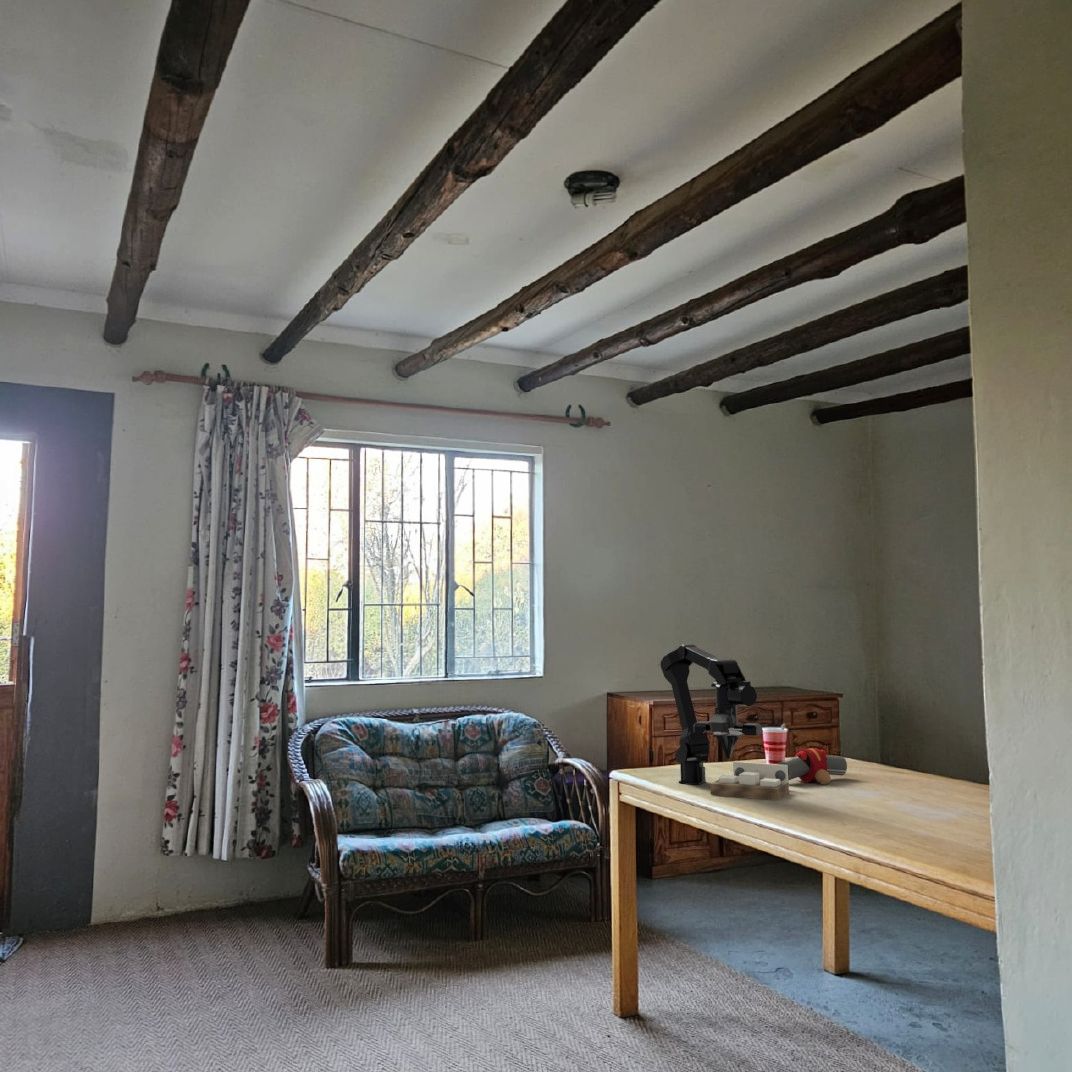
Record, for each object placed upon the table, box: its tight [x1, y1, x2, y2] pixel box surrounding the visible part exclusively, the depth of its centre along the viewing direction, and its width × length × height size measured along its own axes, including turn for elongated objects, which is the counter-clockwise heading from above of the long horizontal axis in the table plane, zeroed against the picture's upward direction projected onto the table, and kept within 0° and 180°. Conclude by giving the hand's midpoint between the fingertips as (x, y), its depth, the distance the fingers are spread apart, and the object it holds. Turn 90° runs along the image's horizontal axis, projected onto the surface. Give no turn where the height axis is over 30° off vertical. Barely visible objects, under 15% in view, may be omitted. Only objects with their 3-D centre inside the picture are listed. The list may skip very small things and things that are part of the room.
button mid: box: [739, 772, 760, 785], centre depth 258 cm, size 4×4×4 cm
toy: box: [777, 747, 848, 786], centre depth 276 cm, size 23×10×15 cm
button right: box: [760, 778, 781, 787], centre depth 255 cm, size 4×4×4 cm
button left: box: [718, 774, 739, 784], centre depth 261 cm, size 4×4×4 cm
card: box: [732, 761, 789, 783], centre depth 267 cm, size 16×1×7 cm, turn 59°
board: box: [709, 779, 790, 801], centre depth 258 cm, size 19×11×3 cm, turn 58°
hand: (728, 758), depth 262 cm, fingers closed
